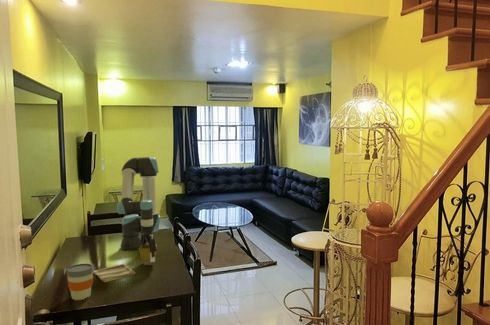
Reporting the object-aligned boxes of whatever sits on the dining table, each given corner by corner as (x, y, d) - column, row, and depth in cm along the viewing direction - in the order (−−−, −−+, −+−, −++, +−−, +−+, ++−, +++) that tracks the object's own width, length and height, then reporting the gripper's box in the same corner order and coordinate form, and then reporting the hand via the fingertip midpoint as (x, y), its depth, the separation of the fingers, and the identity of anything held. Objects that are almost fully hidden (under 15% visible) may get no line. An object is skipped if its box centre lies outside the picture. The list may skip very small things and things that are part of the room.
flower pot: (157, 258, 244) (157, 244, 243) (153, 263, 235) (152, 248, 234) (144, 257, 245) (143, 244, 244) (139, 262, 236) (138, 248, 235)
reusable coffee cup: (76, 290, 202) (74, 263, 201) (98, 291, 201) (97, 263, 200) (62, 301, 190) (60, 271, 189) (86, 302, 189) (85, 272, 187)
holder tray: (93, 273, 227) (93, 270, 227) (123, 266, 238) (123, 263, 238) (104, 282, 213) (104, 279, 213) (135, 274, 224) (135, 271, 224)
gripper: (133, 222, 244) (135, 255, 247) (149, 230, 226) (151, 266, 228) (144, 220, 249) (146, 252, 251) (161, 228, 231) (162, 263, 233)
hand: (148, 259), depth 240 cm, fingers closed on flower pot, 11 cm apart
